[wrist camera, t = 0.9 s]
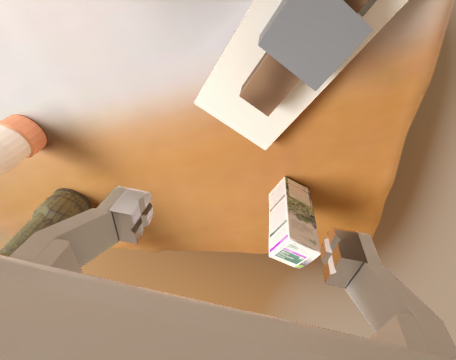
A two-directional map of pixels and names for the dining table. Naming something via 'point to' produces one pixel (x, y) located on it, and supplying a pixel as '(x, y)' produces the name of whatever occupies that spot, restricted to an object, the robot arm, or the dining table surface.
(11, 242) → the thermos
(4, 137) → the pepper shaker
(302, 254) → the syrup box
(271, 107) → the bar
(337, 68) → the board
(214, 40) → the dining table surface
